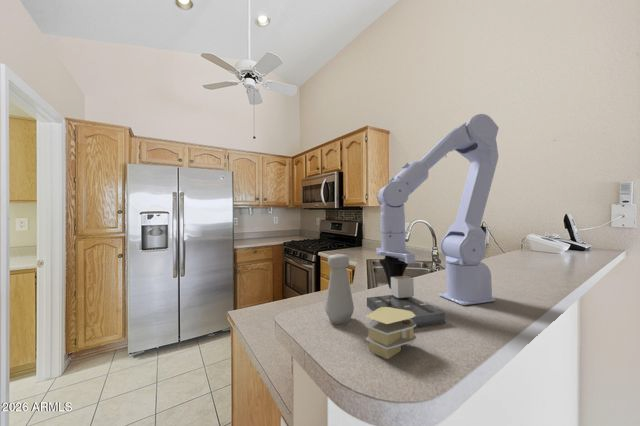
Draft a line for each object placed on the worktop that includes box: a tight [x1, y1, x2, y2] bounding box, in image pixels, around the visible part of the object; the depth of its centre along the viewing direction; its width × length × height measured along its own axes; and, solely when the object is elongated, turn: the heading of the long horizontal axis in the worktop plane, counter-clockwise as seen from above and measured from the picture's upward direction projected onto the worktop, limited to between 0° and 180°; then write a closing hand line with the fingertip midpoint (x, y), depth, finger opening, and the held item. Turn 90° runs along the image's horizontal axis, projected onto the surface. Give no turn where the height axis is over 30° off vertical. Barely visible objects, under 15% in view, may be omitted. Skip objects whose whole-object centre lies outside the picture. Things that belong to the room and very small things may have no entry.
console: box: [366, 294, 446, 329], centre depth 52 cm, size 10×13×2 cm
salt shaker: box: [324, 253, 355, 325], centre depth 50 cm, size 6×6×13 cm
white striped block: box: [390, 275, 415, 298], centre depth 57 cm, size 4×3×4 cm
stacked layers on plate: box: [365, 307, 417, 360], centre depth 39 cm, size 10×9×6 cm
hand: (394, 288), depth 61 cm, fingers closed
